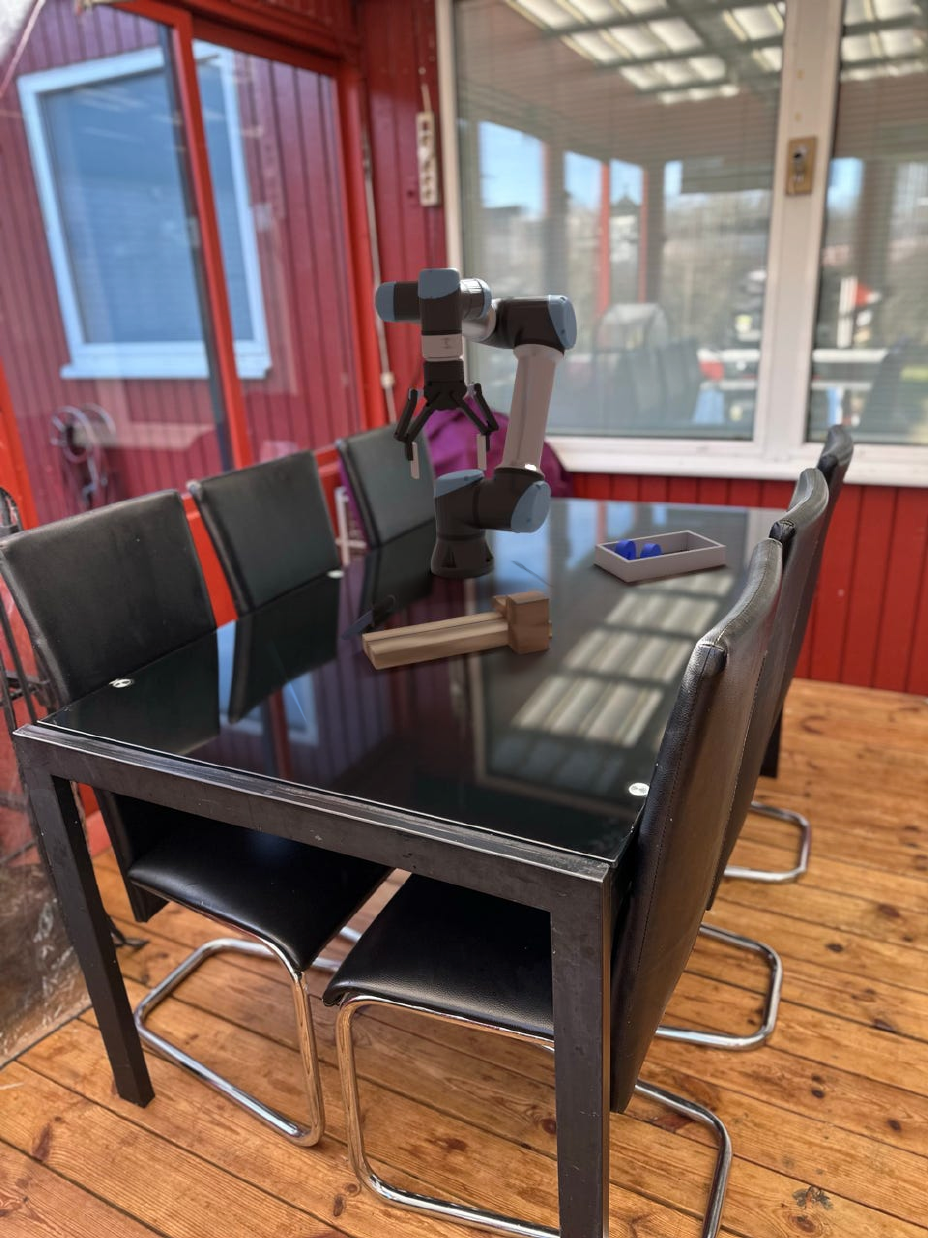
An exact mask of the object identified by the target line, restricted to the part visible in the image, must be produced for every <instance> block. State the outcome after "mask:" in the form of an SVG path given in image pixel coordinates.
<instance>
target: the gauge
mask: <svg viewBox="0 0 928 1238" xmlns="http://www.w3.org/2000/svg"><path fill="white" fill-rule="evenodd" d="M491 597H492V599H491V600H492V608H493V609H495V611H498V612H499V613H500V614H501V615H503V616H504V617H505V618H506V619H507V620H508V645H507V646H508V647H509V648H510V649H512V650H513V651H514V652H515V653H516V654H518V655H519V656H520V655H525V654H530V653H535V652H539V651H545V650H549V649H550V637H549V620H550V602H549V601H550V600H549V599H550V598H549V597H547V596H546V595H545V593H542V592H541V591H540V590H538V589H534V590H528V591H523V592H522V591H521V592H516V593H512V594H511V593H509V594H506V596H505V595H504V594H498V595H493V596H491Z"/></svg>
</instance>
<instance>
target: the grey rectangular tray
mask: <svg viewBox="0 0 928 1238" xmlns="http://www.w3.org/2000/svg"><path fill="white" fill-rule="evenodd" d="M627 540H631V541H634V543H635V545H636V560H630V561H629V560H627V559H625V558H623V557H622V556H620V555H618V554H616V553H615V549H616V546H617V544H618V542H619V541H620V540H618V541H612V542H611V541H610V542H604V543H599V544H594V564H596V565H597V566H598V567H601V569H604V570H606V571H607V572H609V573H610V574H613V575H614V576H616V577H617V578H619V579H621V580H622V581H623V582H626V583H630V582H631V583H632V582H635V581H636V582H637V581H642V580H643V581H644V580H648V579H649V580H650V579H653V578H659V577H664V576H665V575H666V576H670V574H671V575H675V573H676V574H682V573H685V572H690V571H691V572H692V571H696V570H702V569H707V568H713V567H717V566H722V565H725V564H726V555H727V552H726V551H727V550H726V549H727V546H726V545H725V544H722V543H720V542H717V541H715V540H712V539H710V538H708V537H706V536H703V535H701V534H698V533H696V532H694V531H691V530H689V529H686V530H682V531H681V530H680V531H673V532H668V533H667V532H666V533H662V534H661V533H660V534H655V535H648V536H642V537H636V538H631V539H629V538H628V539H627ZM647 543H652V544H658V545H659V546H660V548H661V556H654V557H648V558H642V559H640V554H641V551H642V549H643V547H644V545H645V544H647ZM686 549H687V550H686ZM681 550H682V551H681ZM688 550H689V551H688ZM666 576H665V577H666Z"/></svg>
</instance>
